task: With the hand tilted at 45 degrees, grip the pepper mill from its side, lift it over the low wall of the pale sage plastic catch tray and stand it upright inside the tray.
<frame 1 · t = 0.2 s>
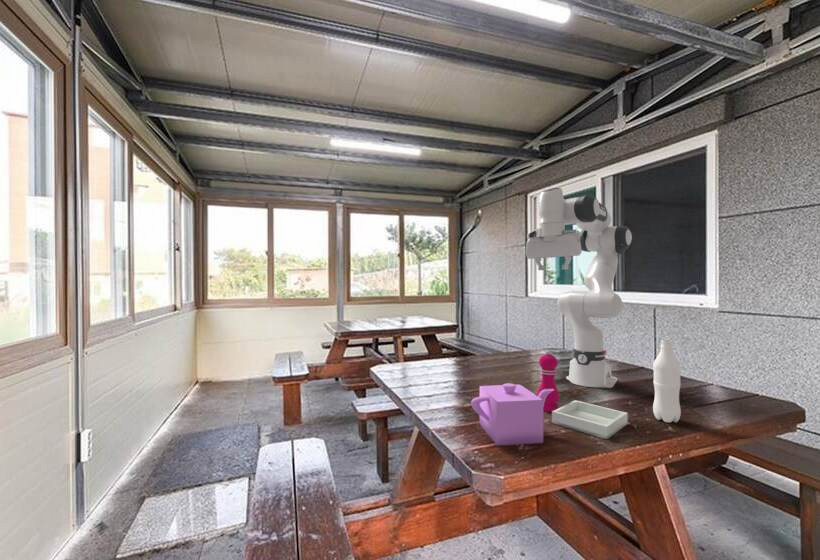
hand: (553, 269, 138), 48 cm above the table, fingers open, 8 cm apart
pepper mill: (548, 409, 128), on the table
water bottle: (666, 420, 118), on the table
teapot: (513, 433, 109), on the table
catch tray: (589, 423, 115), on the table
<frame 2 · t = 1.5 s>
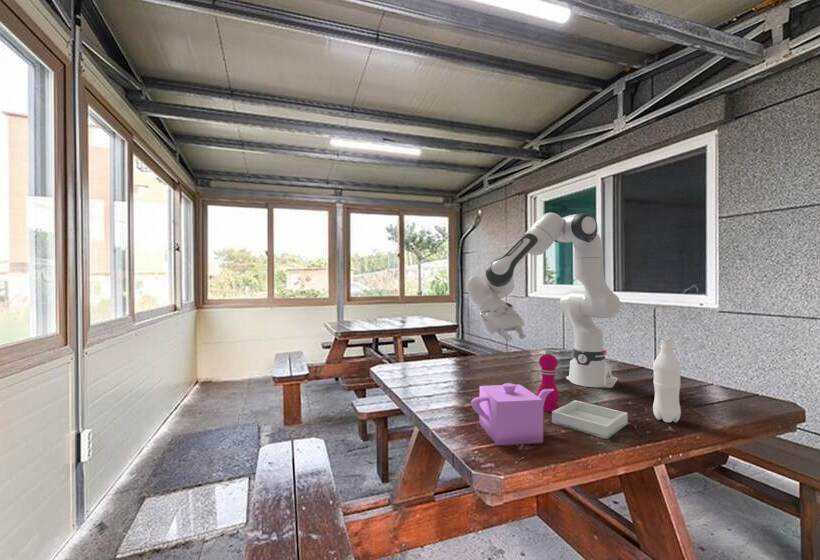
hand: (516, 339, 137), 22 cm above the table, fingers open, 8 cm apart
nothing on the table moved.
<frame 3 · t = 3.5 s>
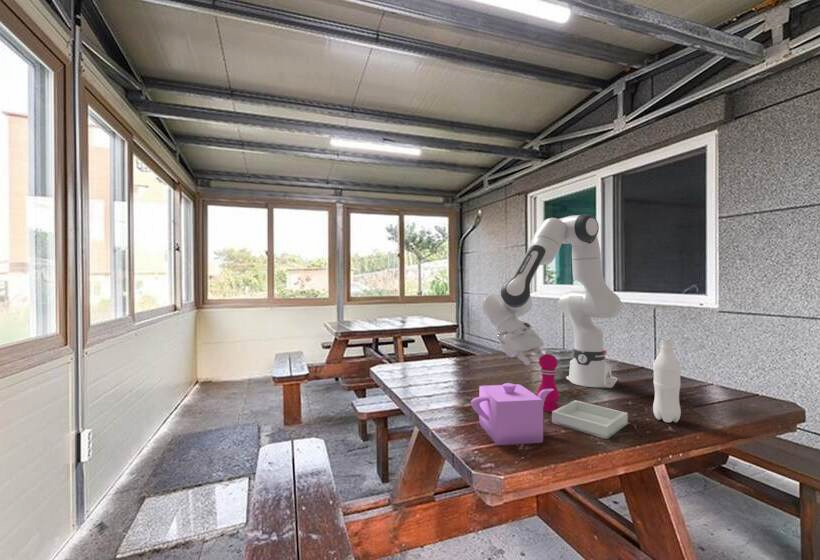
hand: (536, 361, 131), 15 cm above the table, fingers open, 8 cm apart
nothing on the table moved.
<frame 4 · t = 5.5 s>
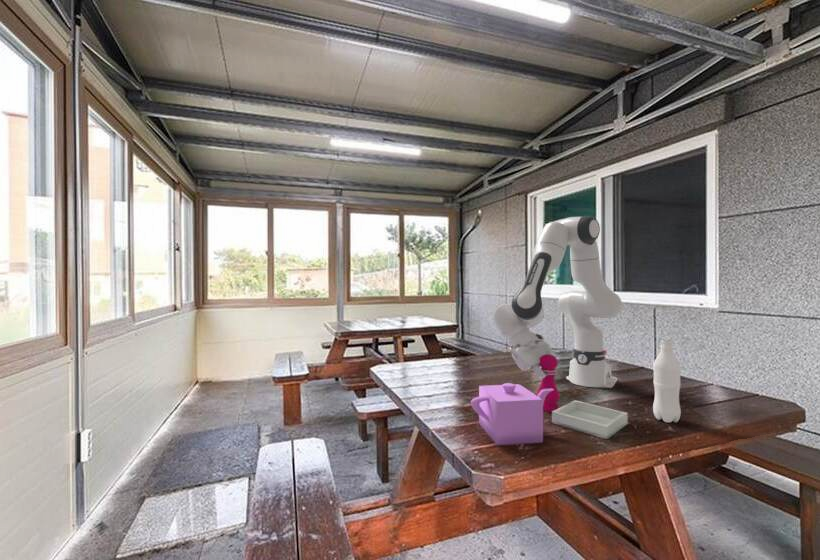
hand: (550, 375, 128), 11 cm above the table, fingers closed on pepper mill, 5 cm apart
pepper mill: (548, 409, 128), on the table, touching gripper
everything else where it was.
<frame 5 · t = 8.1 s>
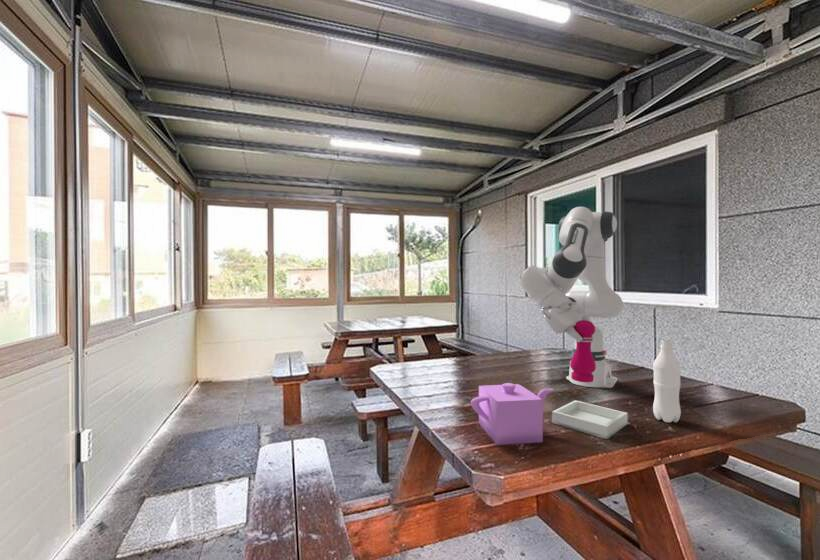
hand: (586, 339, 116), 26 cm above the table, fingers closed on pepper mill, 5 cm apart
pepper mill: (582, 380, 117), point 13 cm above the table, touching gripper
everything else where it was.
when the fingers open (14 cm above the table, at t = 10.9 s): pepper mill stays where it is, resting on catch tray.
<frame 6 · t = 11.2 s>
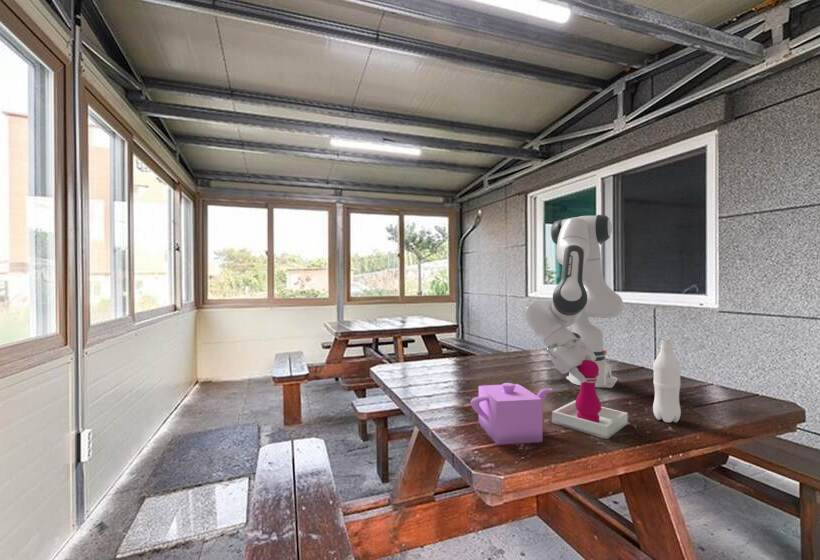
hand: (591, 378, 115), 14 cm above the table, fingers open, 8 cm apart
pepper mill: (588, 420, 116), point 1 cm above the table, touching catch tray
everything else where it was.
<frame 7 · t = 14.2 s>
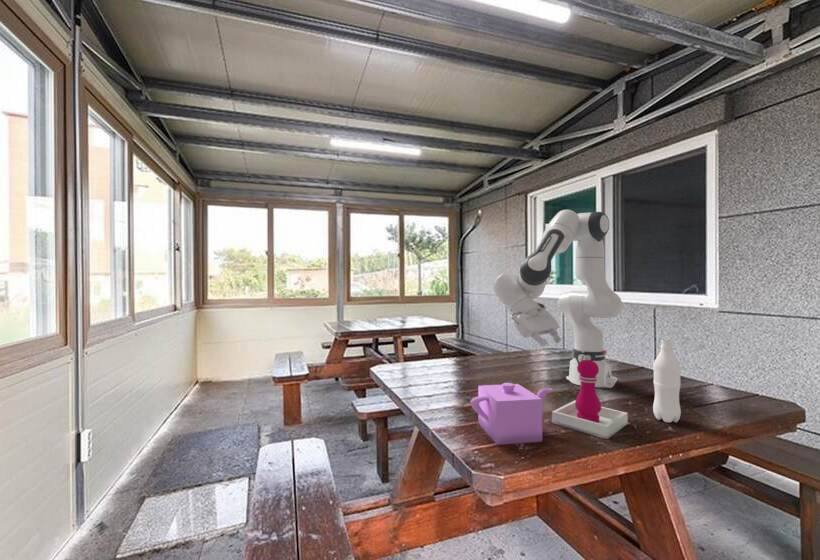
hand: (552, 343, 124), 23 cm above the table, fingers open, 8 cm apart
nothing on the table moved.
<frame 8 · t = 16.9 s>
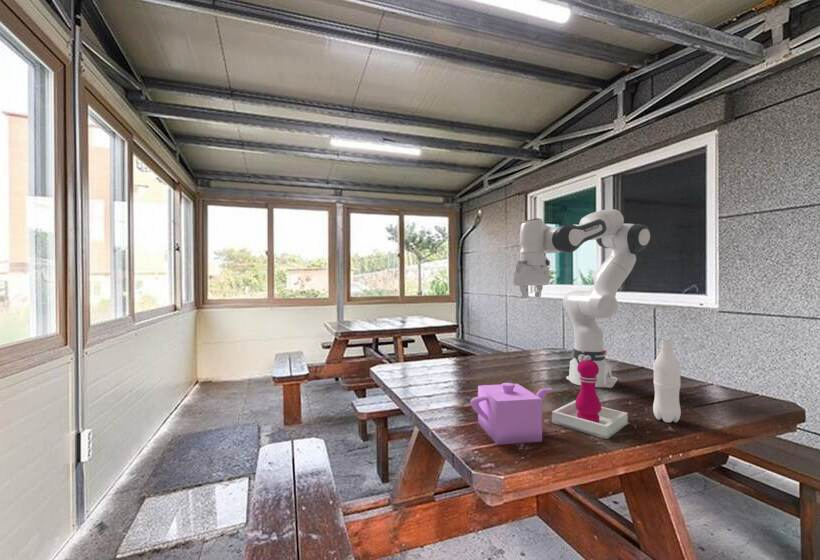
hand: (531, 297, 144), 37 cm above the table, fingers open, 8 cm apart
nothing on the table moved.
at the end: pepper mill inside the target area on the catch tray (0.6 cm from its centre), point 0.6 cm above the catch tray's base; pepper mill tilted 0°; the gripper is holding nothing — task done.
